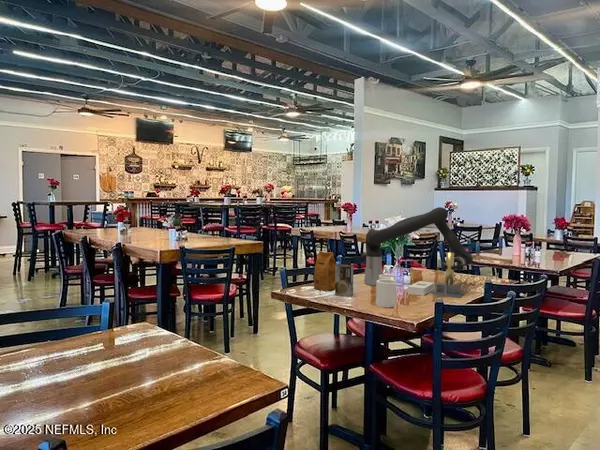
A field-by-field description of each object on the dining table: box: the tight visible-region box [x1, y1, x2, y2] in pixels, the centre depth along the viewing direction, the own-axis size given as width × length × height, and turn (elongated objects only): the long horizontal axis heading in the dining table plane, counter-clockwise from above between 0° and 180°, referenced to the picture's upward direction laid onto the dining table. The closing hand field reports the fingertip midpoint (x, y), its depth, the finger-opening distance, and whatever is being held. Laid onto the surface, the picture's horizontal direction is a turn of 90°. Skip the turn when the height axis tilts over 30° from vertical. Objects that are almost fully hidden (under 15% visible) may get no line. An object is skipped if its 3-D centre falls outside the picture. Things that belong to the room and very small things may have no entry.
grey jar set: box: [375, 274, 397, 308], centre depth 232 cm, size 25×10×12 cm, turn 168°
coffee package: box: [313, 250, 338, 292], centre depth 262 cm, size 10×12×22 cm
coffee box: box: [334, 264, 354, 297], centre depth 248 cm, size 9×6×16 cm
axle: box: [445, 251, 455, 285], centre depth 253 cm, size 4×4×18 cm
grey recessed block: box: [407, 280, 436, 296], centre depth 259 cm, size 20×9×4 cm, turn 147°
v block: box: [431, 281, 465, 299], centre depth 252 cm, size 10×15×6 cm, turn 57°
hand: (448, 267), depth 251 cm, fingers closed on axle, 4 cm apart
